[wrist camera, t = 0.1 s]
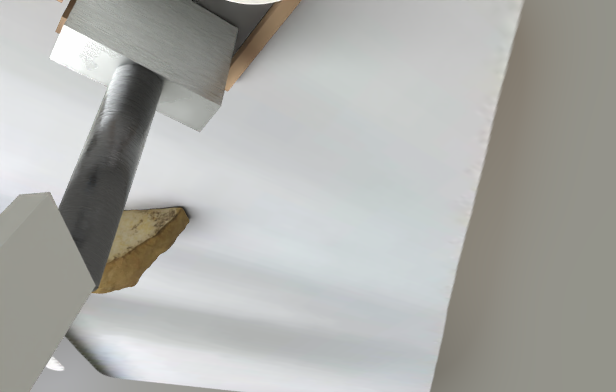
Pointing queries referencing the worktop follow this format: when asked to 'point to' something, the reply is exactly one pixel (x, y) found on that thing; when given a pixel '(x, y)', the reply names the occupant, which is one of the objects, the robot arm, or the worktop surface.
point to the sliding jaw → (135, 98)
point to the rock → (140, 245)
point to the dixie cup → (254, 1)
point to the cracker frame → (251, 44)
